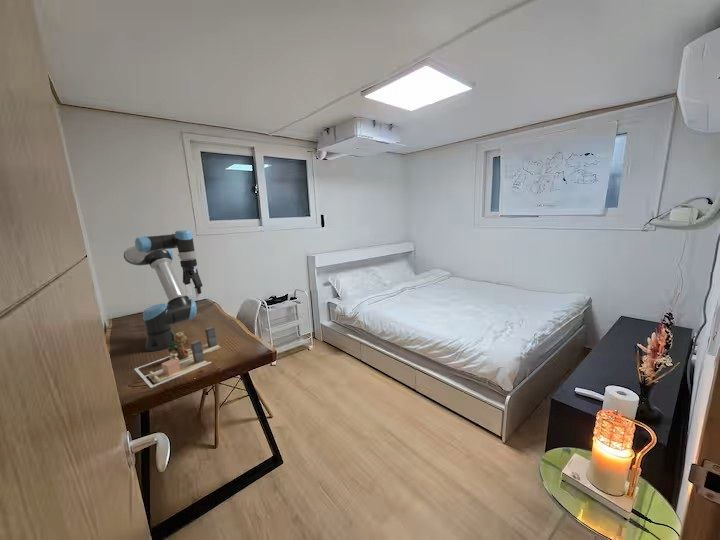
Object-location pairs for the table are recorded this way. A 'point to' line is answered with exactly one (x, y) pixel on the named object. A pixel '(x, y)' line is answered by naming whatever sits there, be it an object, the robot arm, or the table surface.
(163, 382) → the lane board
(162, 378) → the strip
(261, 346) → the table surface
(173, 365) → the terracotta cube
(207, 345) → the strip
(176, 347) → the figurine
